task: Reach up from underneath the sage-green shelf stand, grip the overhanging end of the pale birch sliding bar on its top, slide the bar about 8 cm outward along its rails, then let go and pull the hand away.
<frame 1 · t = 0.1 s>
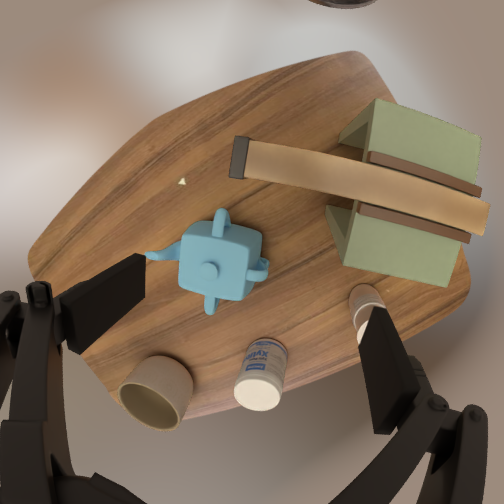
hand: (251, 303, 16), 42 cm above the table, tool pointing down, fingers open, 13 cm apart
shelf stand: (362, 180, 52), on the table
candle: (362, 296, 58), on the table
slide bar: (371, 183, 23), point 32 cm above the table, slide at 0.0 cm
planter: (171, 372, 74), on the table
supplement tub: (267, 353, 66), on the table
teapot: (221, 248, 61), on the table
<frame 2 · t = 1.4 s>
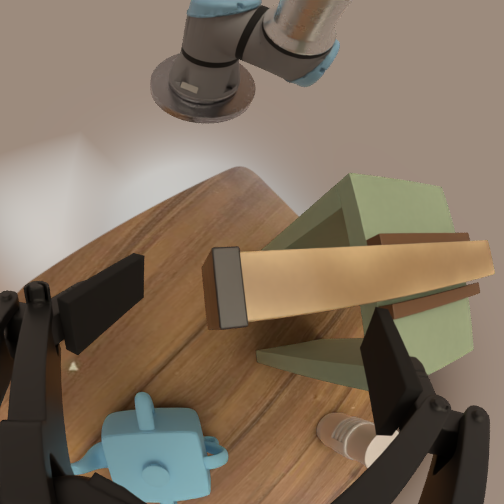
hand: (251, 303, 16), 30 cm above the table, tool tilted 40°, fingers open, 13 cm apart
shelf stand: (285, 309, 48), on the table
candle: (330, 427, 45), on the table
slide bar: (395, 274, 17), point 32 cm above the table, slide at 0.1 cm, touching gripper
teapot: (147, 439, 36), on the table
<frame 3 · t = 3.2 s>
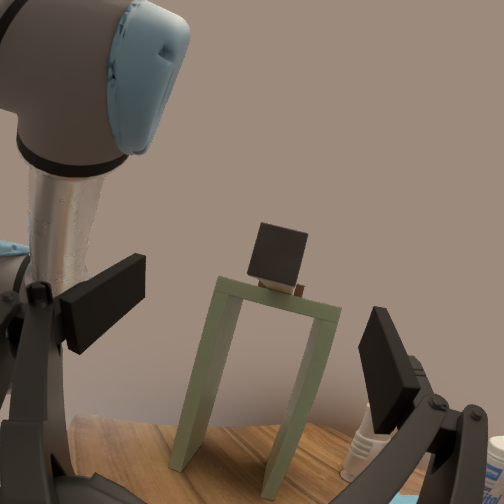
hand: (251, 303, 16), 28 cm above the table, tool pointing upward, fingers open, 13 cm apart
shelf stand: (227, 468, 38), on the table
candle: (354, 477, 39), on the table
slide bar: (282, 273, 31), point 32 cm above the table, slide at 5.6 cm
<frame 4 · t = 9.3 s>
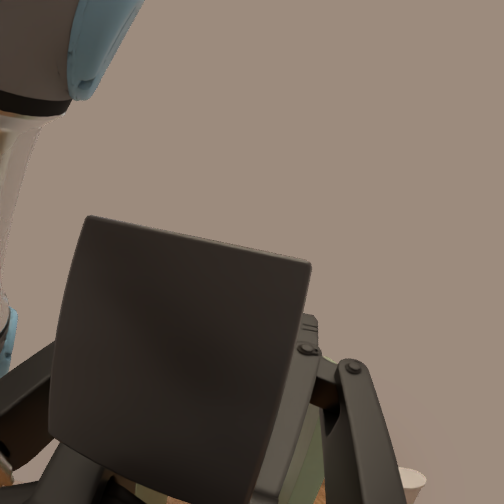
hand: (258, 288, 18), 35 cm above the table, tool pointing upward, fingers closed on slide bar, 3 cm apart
slide bar: (243, 334, 15), point 32 cm above the table, slide at 5.6 cm, touching gripper
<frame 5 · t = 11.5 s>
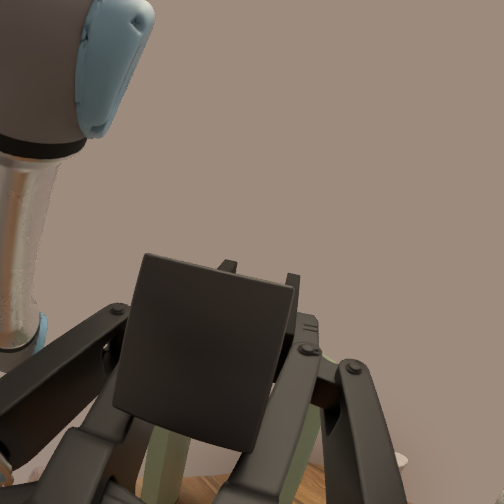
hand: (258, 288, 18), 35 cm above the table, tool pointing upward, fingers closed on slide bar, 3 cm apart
slide bar: (247, 332, 17), point 32 cm above the table, slide at 10.2 cm, touching gripper
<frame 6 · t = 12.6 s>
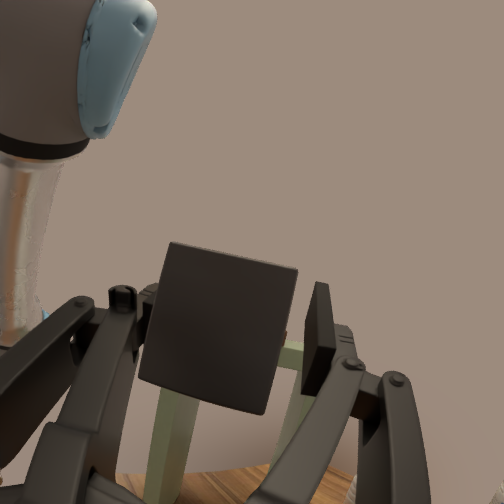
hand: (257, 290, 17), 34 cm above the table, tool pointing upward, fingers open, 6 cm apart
slide bar: (251, 323, 18), point 32 cm above the table, slide at 10.0 cm
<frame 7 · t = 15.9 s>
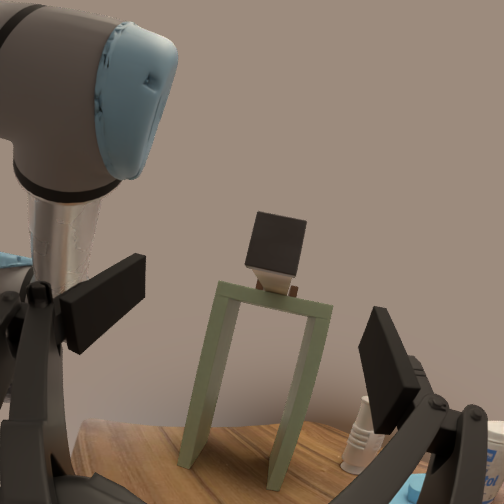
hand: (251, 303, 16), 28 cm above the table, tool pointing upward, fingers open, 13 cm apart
shelf stand: (233, 464, 40), on the table
candle: (354, 468, 42), on the table
slide bar: (278, 269, 30), point 32 cm above the table, slide at 10.0 cm
supplement tub: (468, 501, 23), on the table
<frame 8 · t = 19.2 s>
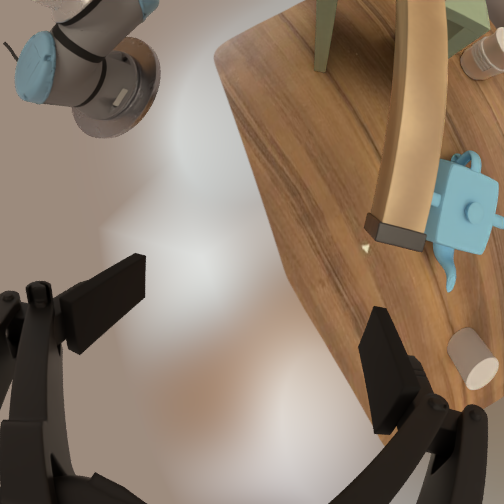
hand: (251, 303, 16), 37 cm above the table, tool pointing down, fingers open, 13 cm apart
shelf stand: (362, 51, 40), on the table
candle: (471, 66, 35), on the table
slide bar: (418, 77, 15), point 32 cm above the table, slide at 9.9 cm
white cylinder: (461, 342, 51), on the table
teapot: (438, 209, 45), on the table
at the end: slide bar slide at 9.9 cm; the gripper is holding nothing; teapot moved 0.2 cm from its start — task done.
